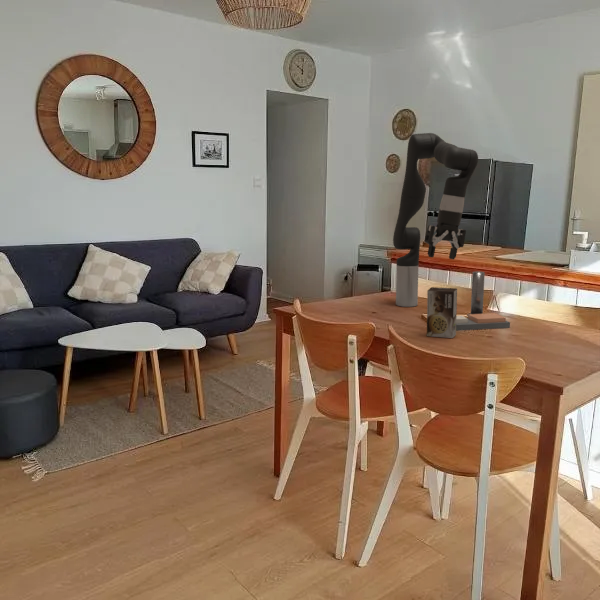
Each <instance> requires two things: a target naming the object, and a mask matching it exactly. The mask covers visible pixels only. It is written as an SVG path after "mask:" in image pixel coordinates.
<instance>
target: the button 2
mask: <svg viewBox="0 0 600 600" xmlns="http://www.w3.org/2000/svg"><path fill="white" fill-rule="evenodd" d="M467 314H468V319H469V320H471V321H473V322H475V323H477V324H478V323H497V322H506V321H507V319H506V317H505V316H503V315H501V314H498V313H496V312H493V313H491V312H489V313H483V314H469V313H467Z"/></svg>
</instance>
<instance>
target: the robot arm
mask: <svg viewBox="0 0 600 600" xmlns="http://www.w3.org/2000/svg"><path fill="white" fill-rule="evenodd" d="M433 158H434V159H435V160H436V161H437V162H439V164H442V165H444V167H445V168H448V169H452V170H455V171H460V173H459V174H458V175H457V176H449V177H447V178H446V180H445V183H444V187H443V193H442V197H441V201H440V203H439V204H440V205H439V209H438V215H437V220H436V222H437V224H436V226H435V225H432V224H429V225H427V230H426V233H425V238H424V241H423V242H424V243H425V244H427V245H428V249H427V255H428V256H427V257H429V258H434V256H435V252H436V246H437V244H438V243H439V242H441V241H447V242H449V243H450V246H451V247H450V251H449V256H448V258H449V260H455V259H456V257H457V253H458V249H459V248H464V246H465V245H464V244H465V238H466V232H467V230H466V229H463V228H459V227H460V225H461V220H462V217H463V216H462V215H463V211H464V206H465V197H466V193H467V188H468V184H469V182H470V180H471V178H472V175H473V173H474V171H475V170H476V168H477V166H478V163H479V155H478V152H477V151H476V150H474V149H469V148H463V147H459V146H457V145H455V144H452V143H449V142H446V141H445V140H444V139H442V138H441V137H440V136H439V135H438V134H436V133H432V132H424V133H423V132H422V133H414V134H411V135H410V137H409V139H408V142H407V153H406V164H405V165H406V166H405V171H404V178H403V179H404V181H403V185H402V189H401V195H400V201H399V202H400V203H399V210H398V215H397V219H396V223H395V228H394V231H393V238H392V242H393V243H392V244H393V246H394V247H393V248H395V249H396V250H409V252H407V253H406V254H405V255H402V256H399V257H397V259H396V271H395V272H396V278H395V279H396V280H395V281H396V284H395V285H396V286H395V305H396V306H398V307H403V308H405V307H407V308H409V307H410V308H412V307H416V306H418V303H419V302H418V300H419V298H418V297H419V265H420V263H419V261H420V250H421V249H420V247H421V246H420V245H421V231H420V229H419V228H418V227H414V226H410V227H409V226H407V225H408V224H409V222H410V221H411V219H412V218H413V217H414V216H415V215H416V214H417V213H418V212H419V211H420V209H422V207H423V205H424V203H425V198H426V192H427V189H426V188H427V187H426V185H425V182H424V180H423V178H422V177H421V174H420V172H419V170H418V162H419V160H426V159H433ZM434 233H435V234H434Z"/></svg>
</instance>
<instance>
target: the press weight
mask: <svg viewBox="0 0 600 600" xmlns="http://www.w3.org/2000/svg"><path fill="white" fill-rule="evenodd" d="M471 273H472V276H471V301H470V313H467V315H466V317H467V316H468V314H484V313H483V312H484V293H485V275H486V274H485V271H472V272H471Z"/></svg>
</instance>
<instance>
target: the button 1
mask: <svg viewBox="0 0 600 600" xmlns="http://www.w3.org/2000/svg"><path fill="white" fill-rule="evenodd" d="M457 323H468V319H467V317H465V316H463V315H456V324H457Z"/></svg>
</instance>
